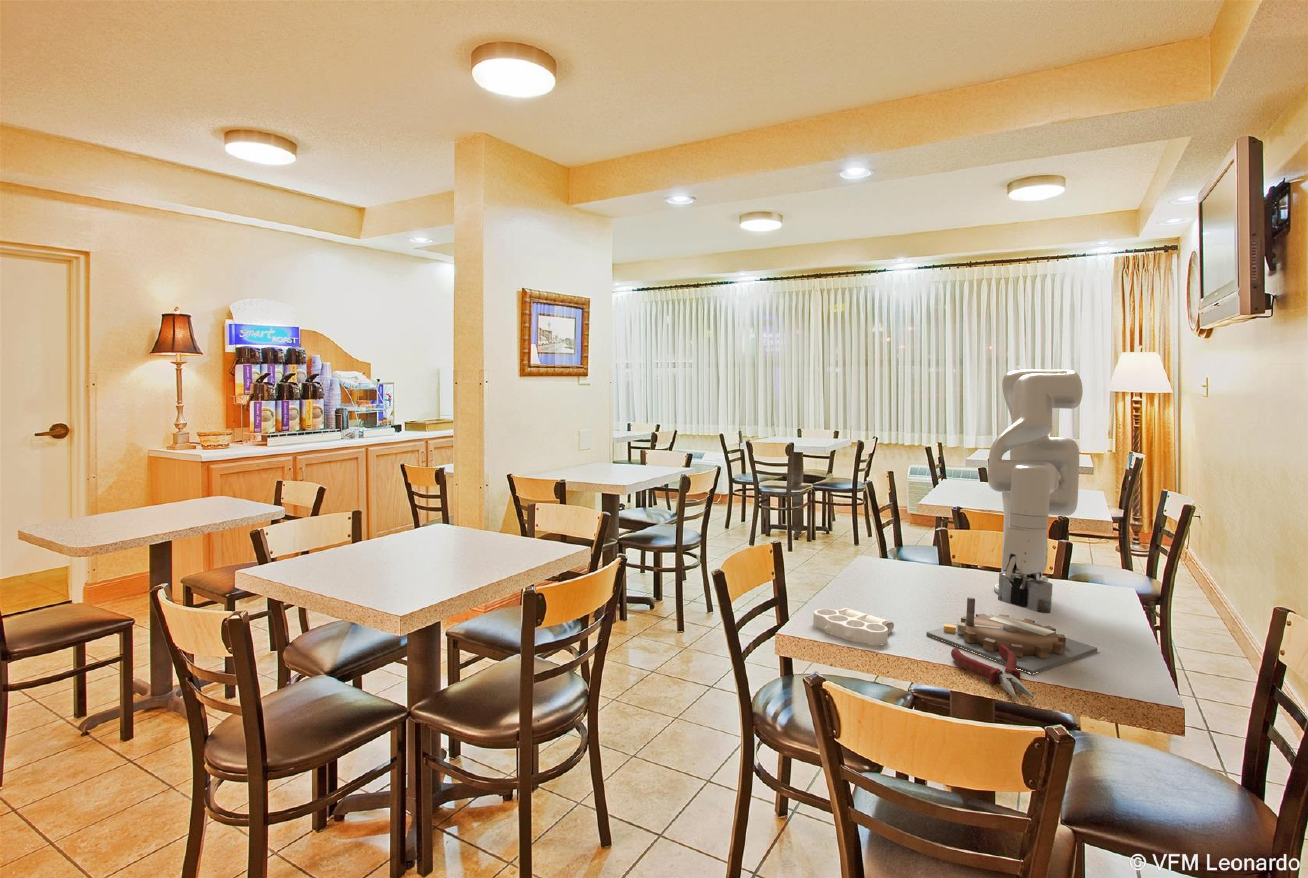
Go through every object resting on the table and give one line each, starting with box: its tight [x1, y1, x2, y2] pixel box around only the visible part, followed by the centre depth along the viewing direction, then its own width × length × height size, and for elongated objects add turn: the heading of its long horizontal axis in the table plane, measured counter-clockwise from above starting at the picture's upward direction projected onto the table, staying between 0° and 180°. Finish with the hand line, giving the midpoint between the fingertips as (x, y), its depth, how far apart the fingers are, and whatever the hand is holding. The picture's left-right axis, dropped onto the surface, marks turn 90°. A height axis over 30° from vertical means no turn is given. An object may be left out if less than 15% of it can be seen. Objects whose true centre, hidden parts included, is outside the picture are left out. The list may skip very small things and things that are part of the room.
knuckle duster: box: [812, 607, 895, 646], centre depth 156 cm, size 3×18×15 cm
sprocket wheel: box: [957, 596, 1067, 658], centre depth 150 cm, size 21×21×8 cm
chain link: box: [997, 571, 1053, 614], centre depth 151 cm, size 3×11×6 cm, turn 31°
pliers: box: [950, 645, 1034, 700], centre depth 131 cm, size 12×20×3 cm, turn 177°
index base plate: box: [925, 613, 1098, 674], centre depth 150 cm, size 24×24×2 cm
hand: (1023, 603), depth 151 cm, fingers closed on chain link, 3 cm apart
